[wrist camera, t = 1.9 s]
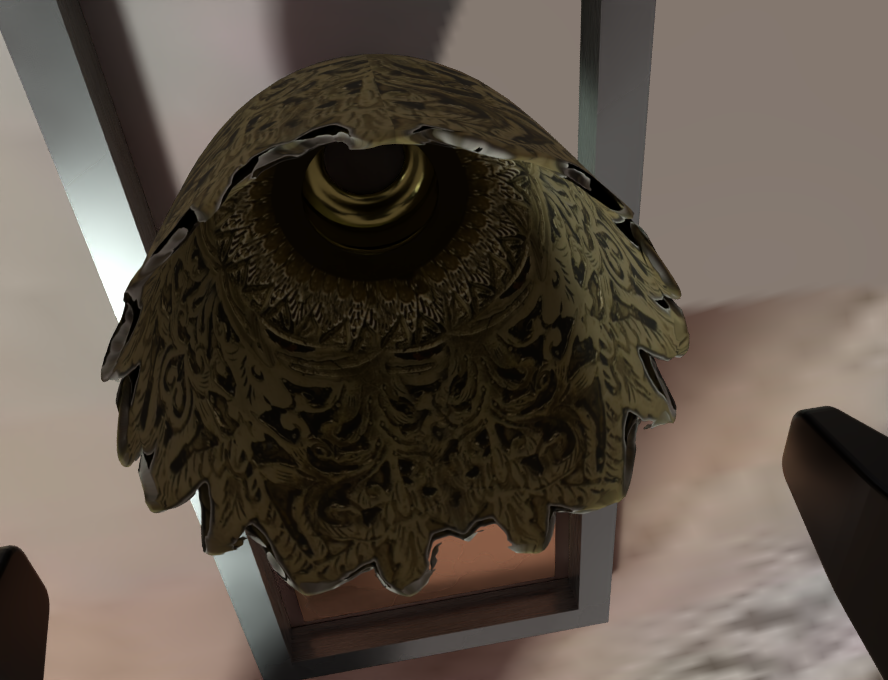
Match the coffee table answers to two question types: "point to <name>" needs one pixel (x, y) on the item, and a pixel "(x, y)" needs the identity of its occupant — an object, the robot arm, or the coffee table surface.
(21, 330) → the coffee table surface
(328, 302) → the bronze ornate bell
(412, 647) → the grey double frame
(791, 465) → the robot arm
